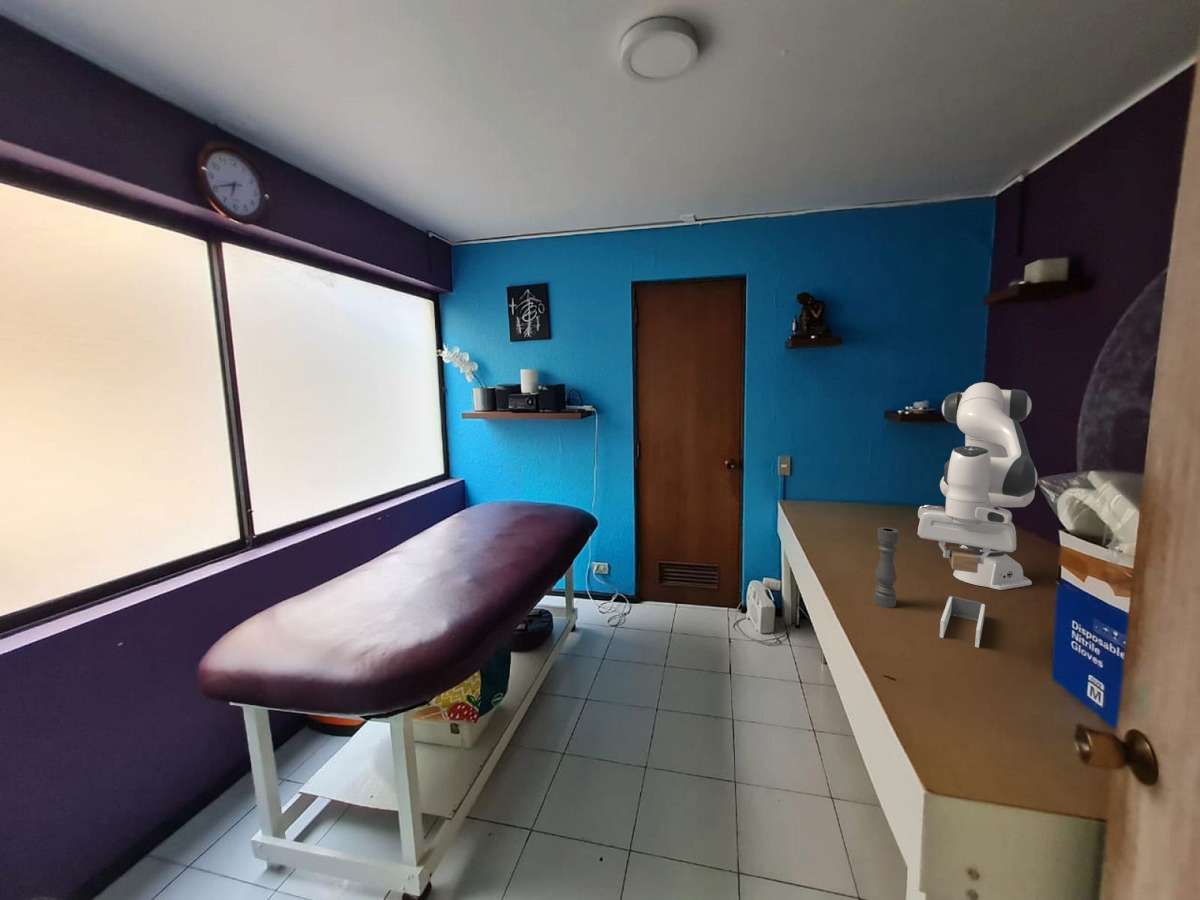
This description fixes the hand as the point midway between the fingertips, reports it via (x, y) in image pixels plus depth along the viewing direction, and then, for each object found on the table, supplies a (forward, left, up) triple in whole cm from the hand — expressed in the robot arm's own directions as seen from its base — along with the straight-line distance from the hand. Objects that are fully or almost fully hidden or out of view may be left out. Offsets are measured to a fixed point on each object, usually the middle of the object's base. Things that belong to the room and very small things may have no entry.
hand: (963, 560), depth 121 cm
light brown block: (0, 0, -2) cm, 2 cm away
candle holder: (+2, -27, -25) cm, 37 cm away
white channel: (-10, -10, -25) cm, 29 cm away
